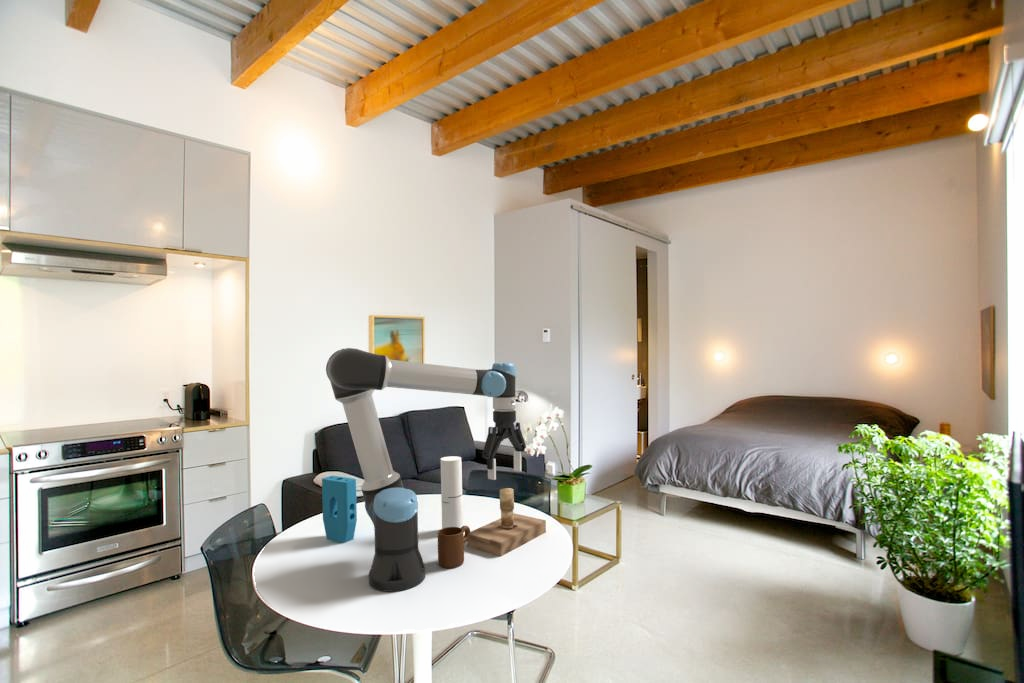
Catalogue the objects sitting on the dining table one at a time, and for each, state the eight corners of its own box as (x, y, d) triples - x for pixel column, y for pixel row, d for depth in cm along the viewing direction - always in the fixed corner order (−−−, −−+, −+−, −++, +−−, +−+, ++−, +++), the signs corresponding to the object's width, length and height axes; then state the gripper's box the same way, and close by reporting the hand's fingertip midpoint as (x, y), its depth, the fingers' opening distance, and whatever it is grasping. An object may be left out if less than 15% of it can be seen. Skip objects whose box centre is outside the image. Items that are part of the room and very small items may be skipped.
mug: (460, 551, 160) (459, 520, 160) (479, 556, 155) (478, 525, 155) (432, 564, 150) (431, 532, 150) (451, 571, 146) (451, 537, 146)
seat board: (501, 556, 155) (501, 542, 155) (466, 546, 164) (466, 533, 164) (545, 532, 174) (545, 520, 174) (512, 524, 183) (512, 513, 183)
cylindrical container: (461, 535, 173) (460, 460, 174) (440, 535, 174) (438, 461, 174) (464, 527, 181) (462, 456, 181) (443, 528, 181) (442, 456, 181)
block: (321, 538, 174) (320, 478, 174) (333, 533, 178) (332, 475, 178) (346, 544, 168) (345, 482, 168) (358, 539, 172) (357, 479, 172)
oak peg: (509, 542, 166) (507, 492, 166) (497, 539, 168) (496, 490, 169) (517, 538, 169) (516, 489, 169) (506, 535, 172) (505, 487, 172)
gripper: (488, 414, 157) (489, 484, 157) (535, 406, 177) (536, 469, 177) (470, 413, 162) (471, 481, 161) (518, 405, 181) (518, 466, 181)
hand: (505, 475), depth 169 cm, fingers open, 13 cm apart
